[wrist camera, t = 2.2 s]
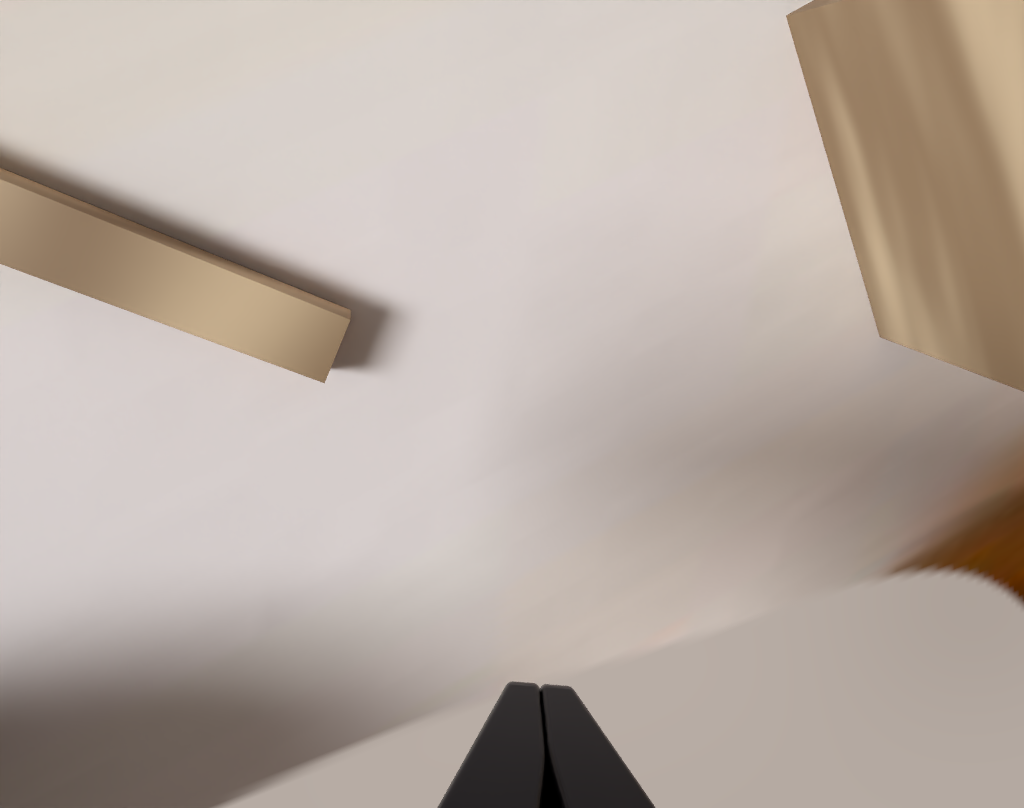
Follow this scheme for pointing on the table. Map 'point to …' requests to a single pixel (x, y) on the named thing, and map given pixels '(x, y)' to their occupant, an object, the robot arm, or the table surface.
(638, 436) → the table surface
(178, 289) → the wooden spatula
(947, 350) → the oak tile
